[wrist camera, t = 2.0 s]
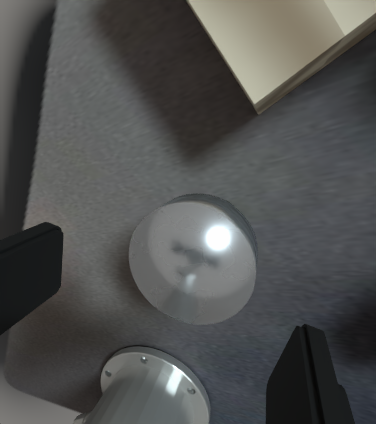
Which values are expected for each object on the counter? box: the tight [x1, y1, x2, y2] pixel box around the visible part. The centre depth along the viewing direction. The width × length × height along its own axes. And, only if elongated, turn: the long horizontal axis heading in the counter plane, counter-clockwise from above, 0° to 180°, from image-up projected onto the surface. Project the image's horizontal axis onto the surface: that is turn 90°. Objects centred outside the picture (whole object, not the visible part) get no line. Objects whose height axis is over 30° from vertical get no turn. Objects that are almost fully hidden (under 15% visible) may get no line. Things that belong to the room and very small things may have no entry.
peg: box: [129, 194, 258, 325], centre depth 17 cm, size 7×7×8 cm
